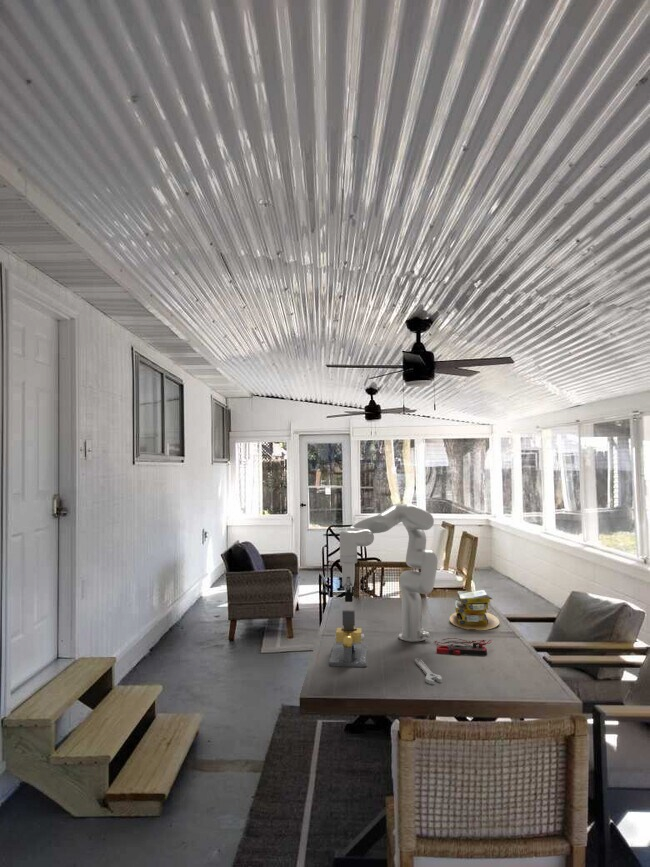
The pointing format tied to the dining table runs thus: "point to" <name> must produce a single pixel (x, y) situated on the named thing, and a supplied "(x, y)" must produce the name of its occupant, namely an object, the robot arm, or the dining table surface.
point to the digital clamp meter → (463, 648)
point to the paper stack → (473, 611)
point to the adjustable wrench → (428, 672)
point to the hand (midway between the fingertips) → (349, 598)
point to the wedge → (348, 620)
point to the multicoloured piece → (349, 649)
